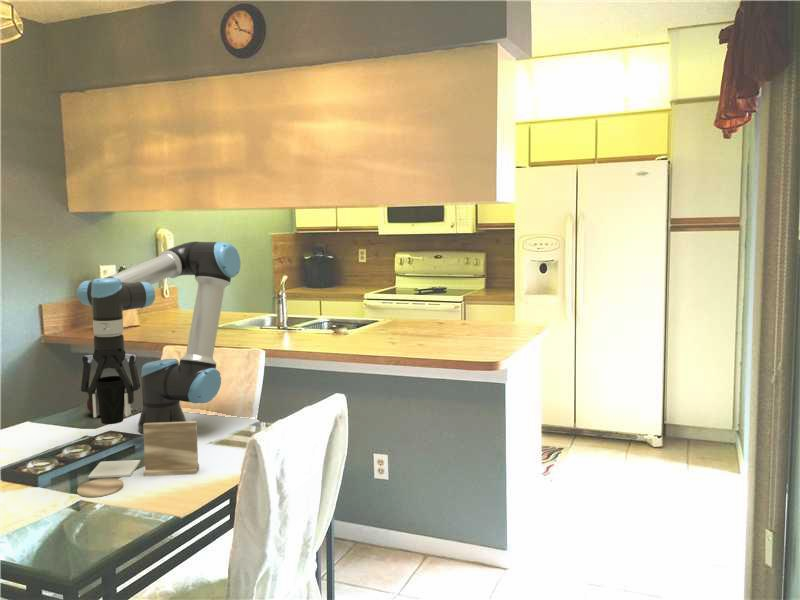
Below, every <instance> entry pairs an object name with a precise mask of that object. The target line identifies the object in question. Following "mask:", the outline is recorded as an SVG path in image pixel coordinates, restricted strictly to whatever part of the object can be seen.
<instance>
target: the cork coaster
mask: <svg viewBox="0 0 800 600" xmlns="http://www.w3.org/2000/svg"><path fill="white" fill-rule="evenodd" d="M123 488H124V481H123V480H122V479H120V478H116V477H109V478H96V479H92V480H90V481H87V482H84V483H83V484H81V485H80V486H78V487H77V489H76V490H77V492H76V493H77V495H78V496H80V497H84V498H101V497H107V496H110V495H113V494H115V493H118V492H119V491H121V490H122V489H123Z"/></svg>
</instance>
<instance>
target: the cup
mask: <svg viewBox="0 0 800 600" xmlns="http://www.w3.org/2000/svg"><path fill="white" fill-rule="evenodd" d="M95 382H96V392H97V396H98V402H99V409H100V415H99V416H100V422H101V424H102V425H115V424H119V423H122V422H123V421H124V416H125V415H124V414H125V398H124V393H125V392H126V388H125V386H124V384H123V380H121V378H120V376H119V375H109V376H108V375H107V376H101V377H100V379H99V381H97V380H96V381H95Z"/></svg>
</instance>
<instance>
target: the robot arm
mask: <svg viewBox="0 0 800 600" xmlns="http://www.w3.org/2000/svg"><path fill="white" fill-rule="evenodd" d="M240 269H241V258H240V254H239V252H238V250H237V248H236V247H235V245H233V244H232V243H229V242H224V241H223V242H222V241H189V242H185V243H182V244H179V245H176V246H173V247H170V248H168V249H166V250H163V251H162V252H160V253H159V254H158V256H156V257H154V258H152V259H150V260H149V259H148V260H146V261H145V262H141V263H139V264H136V265H134V266H132V267H129V268H126V269H124V270H121V271H118V272H117V273H114V274H112V275H109V276H107V277H103V278H102V277H99V278H95V279H91V280H84V281H82V282H81V283H80V284H79V286H78V288H77V292H76V293H77V298H78V301H79V302H80V303H81V304H82V305H84V306H90V307H91V308H92V328H93V329H92V330H93V334H94V337H93V350H94V351H93V354H86V355H84V356H83V357H82V358H81V359H82V363H83V369H82V375H81V377H82V378H81V386H80V391H81V392H83V393H87V395H88V399H89V404H90V405H93V413H92V415H93V416H92V417H93V418H98V416H100V415H99V402H98V396H97V389H96V382H95V381H96V380H97V381H99V379H100V378H102V374H103V373H104V370H107V369H115V371H116V373H117V374H118V376H120V378H121V380H123V384H124V386H125V393H124V414H125V415H124V416H125V417H129V416H130V415H131V405H132V404H133V403H134V402H135V397H134V396H135V395H134V394H135V393H134V392H136V391H138V390H139V389H140V388H141V394H142V410H141V412H140V416H139V419H138V423H137V426H138V427H137V428H138V430H137V431H138V432H139V433H141V434H143V435H144V432H143V424H144V423H159V422H187V421H186V420H187V419H186V417H185V414H184V412H183V409H182V406H181V403H180V402H185V403H186V402H187V403H192V404H207V403H209V402H211V401H212V400H213V399H214V398H215V397H216V396H217V395H218V392H219V391H220V388H221V385H222V377H221V373H220V371H219V369H217V362H216V361H215V360H214V353H215V347H216V340H217V335H218V328H219V323H220V318H221V312H222V305H223V301H224V300H223V299H224V294H225V288H227V287H228V286H229V285H231V280H232V279H233V278H235V277H236V276H238V274H239V272H240ZM180 276H194V279H195V281H196V282H197V283H198V285H197V291H196V297H195V302H194V307H193V312H192V317H191V323H190V329H189V334H188V335H189V336H188V342H187V347H186V351H185V355H184V356H182V357H181V358H179V360H178V359H177V358H166V359H165V358H163V359H158V360H154V361H149V362H146V363H144V364H143V365H142V368H141V376H140V377H141V379H140V378H139V373H138V369H137V363H136V362H137V354H136V353H133V354H130V353H126V351H125V339H124V335H123V333H124V316H123V315H124V314H123V313H124V311H130V310H136V309H143V308H146V307H150V306H151V305H153V304H154V302H155V300H156V290H155V288H154V286H153V285H154V284H156V283H159V282H161V281H163V280H166V279H168V278H170V279H175V278H178V277H180ZM125 359H126V362H127V363H128V367H129V368H128V369H129V373H130V377H131V380H130V378H129V375H128V374H127V371H126V369H125V366H124V364H123V362H124V360H125ZM93 361H95V362H96V363H97V366H96V369H95V373H94V376H93V377H92V380H91V382H90V379H91V377H90V376H91V370H92V362H93ZM140 380H141V383H140Z"/></svg>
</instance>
